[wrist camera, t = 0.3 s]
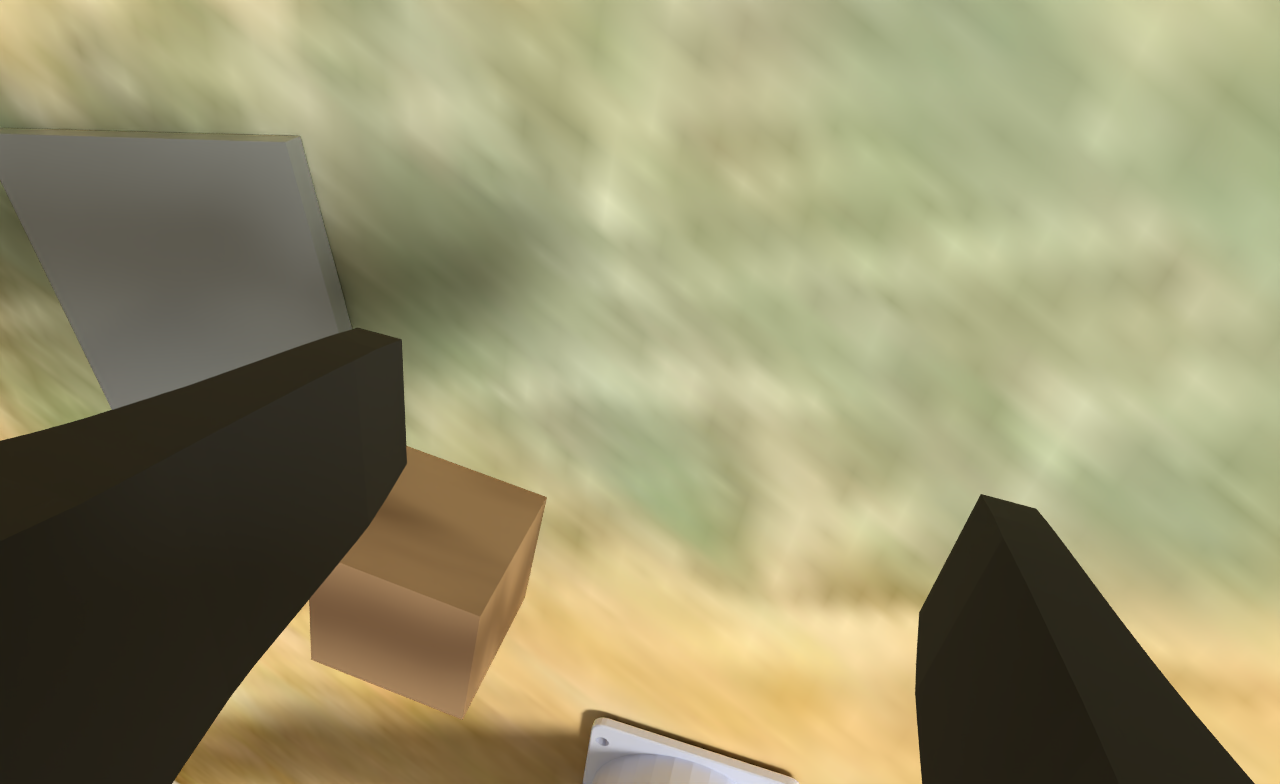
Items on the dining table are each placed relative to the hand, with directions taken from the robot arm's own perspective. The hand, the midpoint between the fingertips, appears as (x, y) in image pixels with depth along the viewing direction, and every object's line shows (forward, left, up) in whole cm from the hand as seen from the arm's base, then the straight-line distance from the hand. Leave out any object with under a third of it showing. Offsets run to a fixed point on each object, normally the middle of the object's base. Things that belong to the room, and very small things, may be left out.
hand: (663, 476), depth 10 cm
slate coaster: (-6, +16, -10) cm, 20 cm away
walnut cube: (-13, +7, -10) cm, 18 cm away
